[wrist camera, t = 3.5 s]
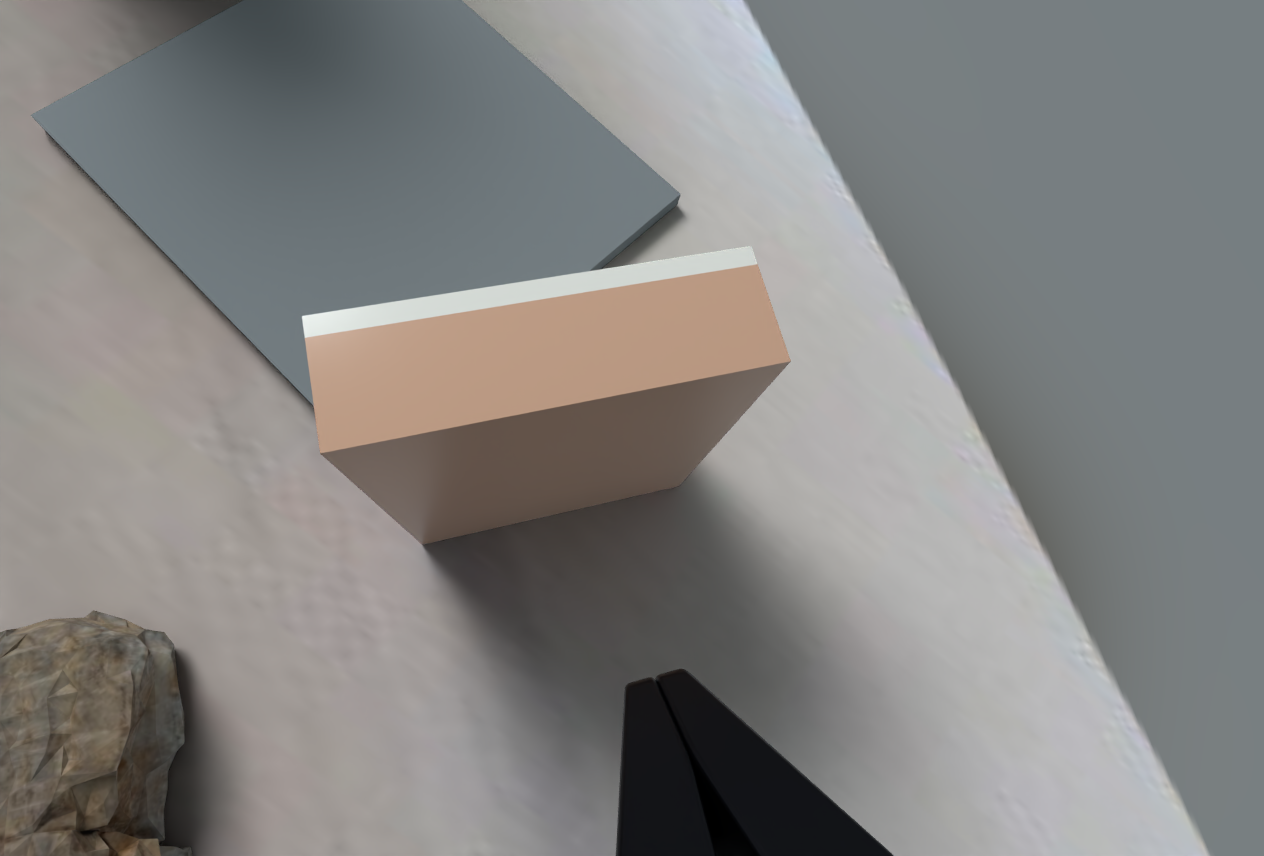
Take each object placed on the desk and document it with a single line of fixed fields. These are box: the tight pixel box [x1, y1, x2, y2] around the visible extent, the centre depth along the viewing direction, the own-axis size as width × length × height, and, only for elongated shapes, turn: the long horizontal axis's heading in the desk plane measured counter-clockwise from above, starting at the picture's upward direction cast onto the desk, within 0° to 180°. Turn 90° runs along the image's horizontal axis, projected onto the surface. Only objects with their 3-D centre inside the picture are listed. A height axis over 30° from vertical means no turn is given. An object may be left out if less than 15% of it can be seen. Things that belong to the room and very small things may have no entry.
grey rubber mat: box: [31, 0, 680, 406], centre depth 23 cm, size 16×14×1 cm
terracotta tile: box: [302, 246, 791, 545], centre depth 16 cm, size 2×8×10 cm, turn 105°
